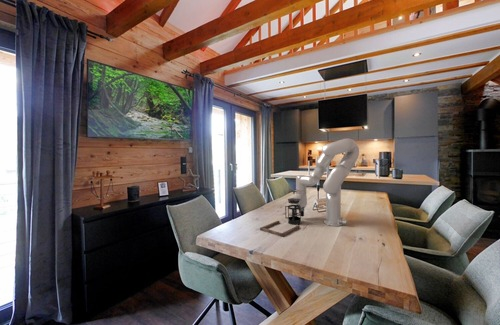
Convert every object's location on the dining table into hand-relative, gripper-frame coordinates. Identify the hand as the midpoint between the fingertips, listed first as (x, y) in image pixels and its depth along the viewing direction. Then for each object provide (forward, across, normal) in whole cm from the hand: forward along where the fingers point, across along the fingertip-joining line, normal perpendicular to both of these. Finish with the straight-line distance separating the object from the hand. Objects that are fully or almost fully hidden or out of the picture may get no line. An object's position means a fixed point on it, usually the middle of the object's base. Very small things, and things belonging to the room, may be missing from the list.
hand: (301, 215), depth 162 cm
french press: (+3, +11, 0) cm, 11 cm away
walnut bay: (+2, +27, 0) cm, 27 cm away
